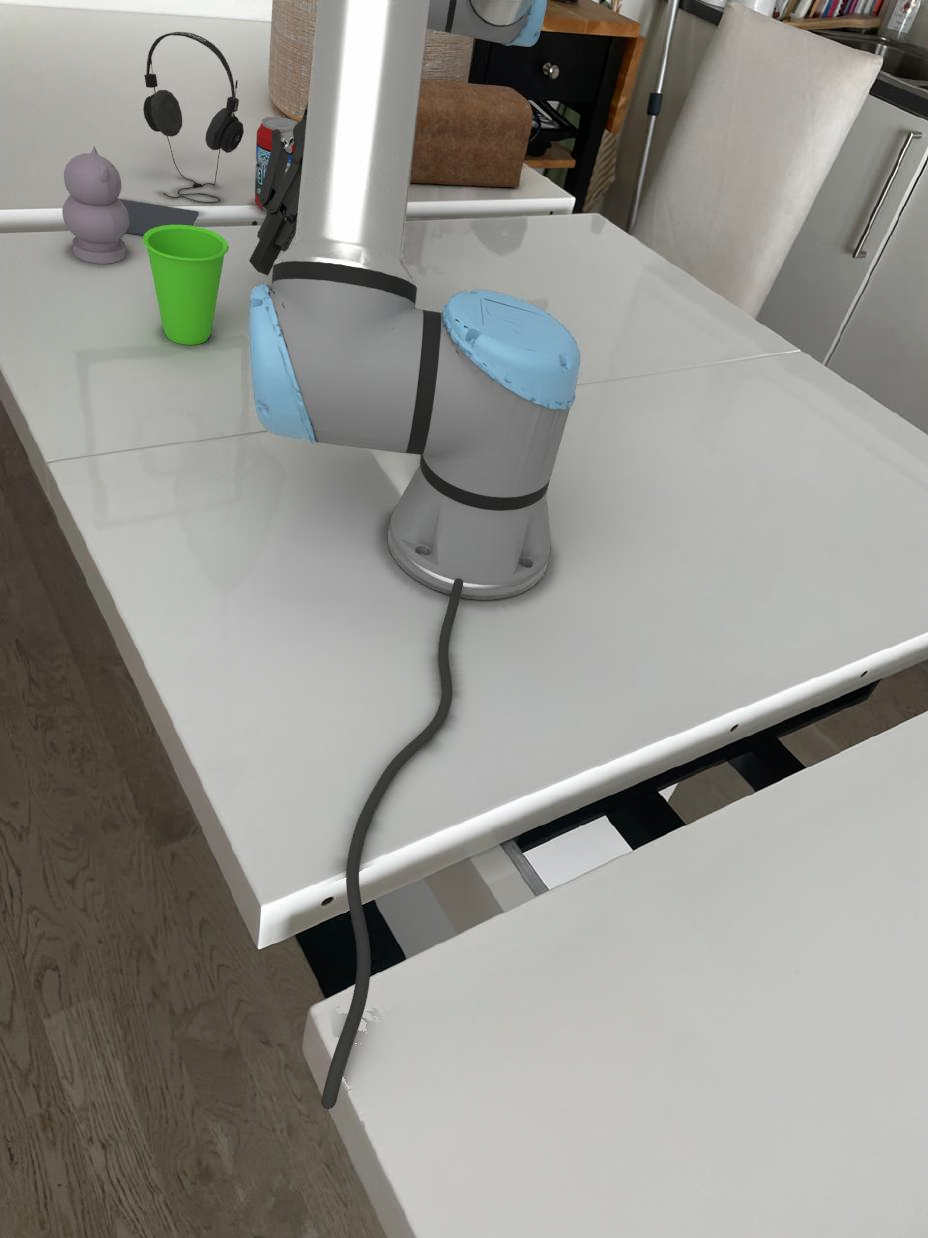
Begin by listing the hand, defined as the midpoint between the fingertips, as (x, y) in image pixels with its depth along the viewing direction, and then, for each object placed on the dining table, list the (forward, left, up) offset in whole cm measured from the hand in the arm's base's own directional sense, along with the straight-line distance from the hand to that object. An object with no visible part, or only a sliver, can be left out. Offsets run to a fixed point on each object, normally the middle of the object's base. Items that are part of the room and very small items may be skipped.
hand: (258, 268), depth 120 cm
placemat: (+21, +17, -4) cm, 27 cm away
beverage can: (+33, +1, -5) cm, 33 cm away
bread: (+60, -20, -5) cm, 64 cm away
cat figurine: (+8, +21, -5) cm, 23 cm away
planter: (+86, -10, -5) cm, 86 cm away
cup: (-11, +7, -5) cm, 14 cm away
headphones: (+36, +15, -5) cm, 39 cm away
